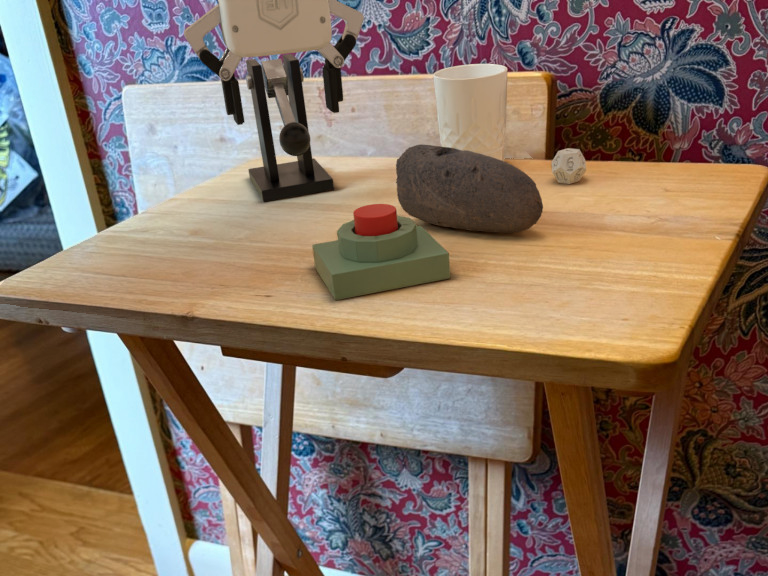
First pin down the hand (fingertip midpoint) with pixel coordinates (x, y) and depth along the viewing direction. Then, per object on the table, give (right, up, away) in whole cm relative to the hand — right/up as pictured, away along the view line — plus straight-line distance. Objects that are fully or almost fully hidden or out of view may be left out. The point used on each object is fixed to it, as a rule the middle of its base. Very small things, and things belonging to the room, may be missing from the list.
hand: (286, 116), depth 90 cm
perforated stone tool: (+18, -13, -5) cm, 23 cm away
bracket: (-1, -2, +12) cm, 12 cm away
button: (+10, -17, -15) cm, 24 cm away
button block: (+10, -20, -13) cm, 25 cm away
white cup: (+20, -1, +11) cm, 23 cm away
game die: (+29, -5, +4) cm, 30 cm away
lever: (-1, +2, +5) cm, 5 cm away
